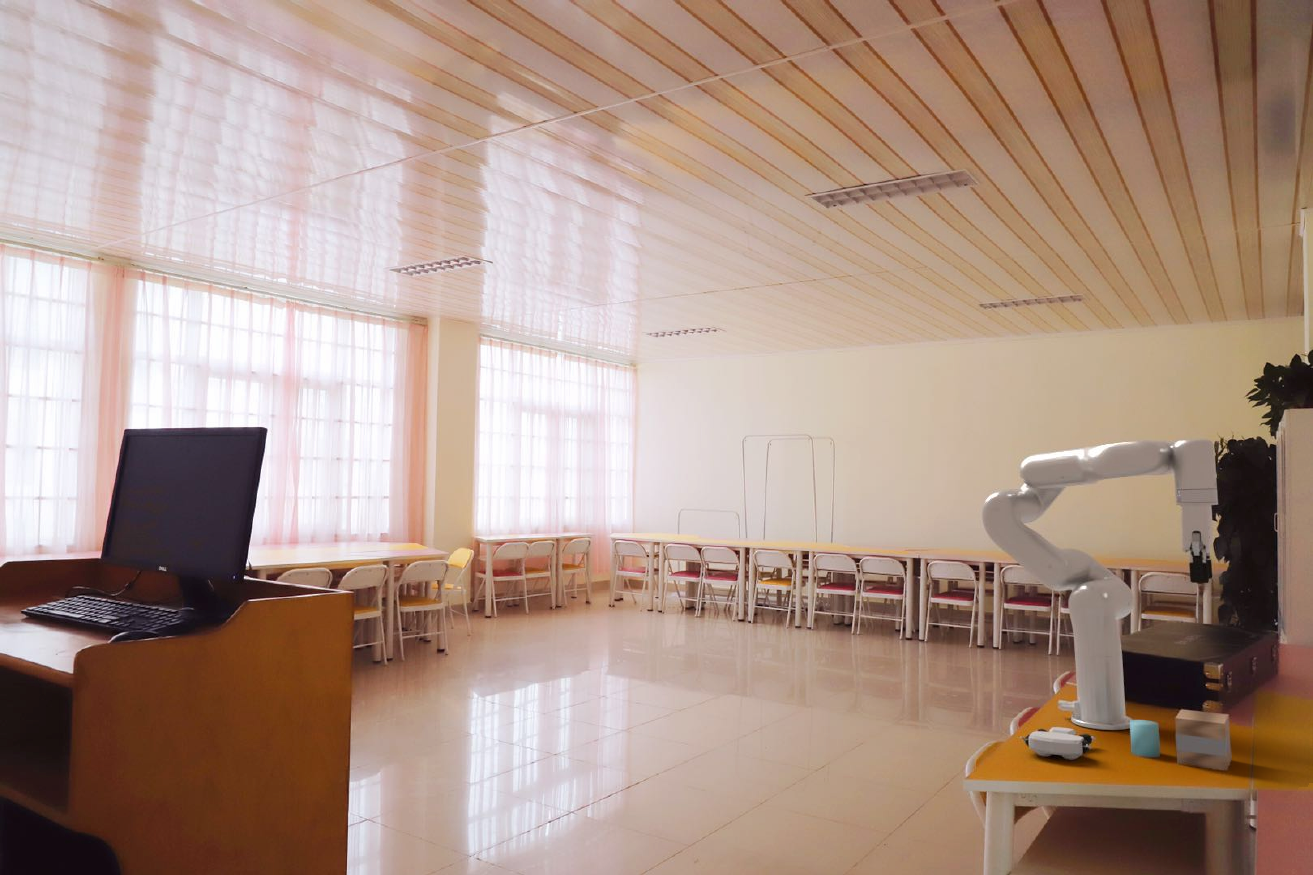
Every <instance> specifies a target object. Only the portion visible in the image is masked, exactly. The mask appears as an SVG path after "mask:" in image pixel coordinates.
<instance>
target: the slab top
mask: <svg viewBox="0 0 1313 875" xmlns="http://www.w3.org/2000/svg"><path fill="white" fill-rule="evenodd" d="M1229 715H1230V714H1227V713H1219V712H1218V713H1217V712H1208V711H1199V710H1189V709H1183V708H1181V709H1180V710H1179V712H1178V713H1177V715H1176V716H1175V718H1174V719H1175V720H1174V721H1175V735H1176V734H1180V735H1188V736H1196V737H1204V738H1212V739H1221V740H1226V738H1227V736H1228V733H1230V716H1229Z"/></svg>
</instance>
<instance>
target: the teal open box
mask: <svg viewBox="0 0 1313 875" xmlns="http://www.w3.org/2000/svg"><path fill="white" fill-rule="evenodd" d="M1129 731H1130V732H1129V733H1130V734H1129V736H1130V749H1131V751H1130V752H1131V754H1132V755H1134V756H1137V757H1141V758H1142V757H1143V758H1159V757H1160V756H1161V746H1160V733H1159V731H1160V730H1159V723H1158V722H1156V721H1152V720H1145V719H1132V721H1130V728H1129Z"/></svg>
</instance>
